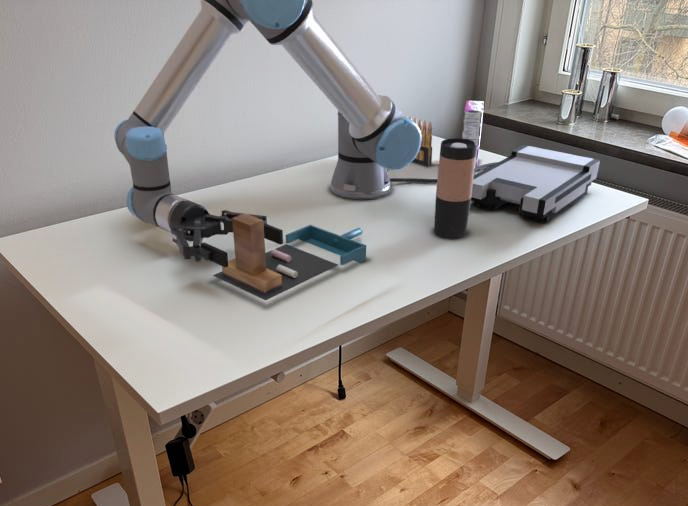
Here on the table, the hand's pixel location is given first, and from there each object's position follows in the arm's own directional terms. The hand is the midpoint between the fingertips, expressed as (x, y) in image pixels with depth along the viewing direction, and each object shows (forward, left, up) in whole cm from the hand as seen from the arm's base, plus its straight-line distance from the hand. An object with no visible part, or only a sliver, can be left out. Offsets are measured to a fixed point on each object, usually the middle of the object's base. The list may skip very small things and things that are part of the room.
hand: (254, 248), depth 129 cm
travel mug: (-48, -10, -9) cm, 50 cm away
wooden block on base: (+1, -1, -7) cm, 7 cm away
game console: (-77, -20, -9) cm, 80 cm away
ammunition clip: (-65, -58, -9) cm, 88 cm away
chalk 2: (-7, -1, -7) cm, 9 cm away
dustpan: (-22, -12, -9) cm, 26 cm away
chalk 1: (-8, -9, -7) cm, 13 cm away
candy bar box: (-77, -49, -9) cm, 92 cm away
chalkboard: (-5, -4, -9) cm, 11 cm away
